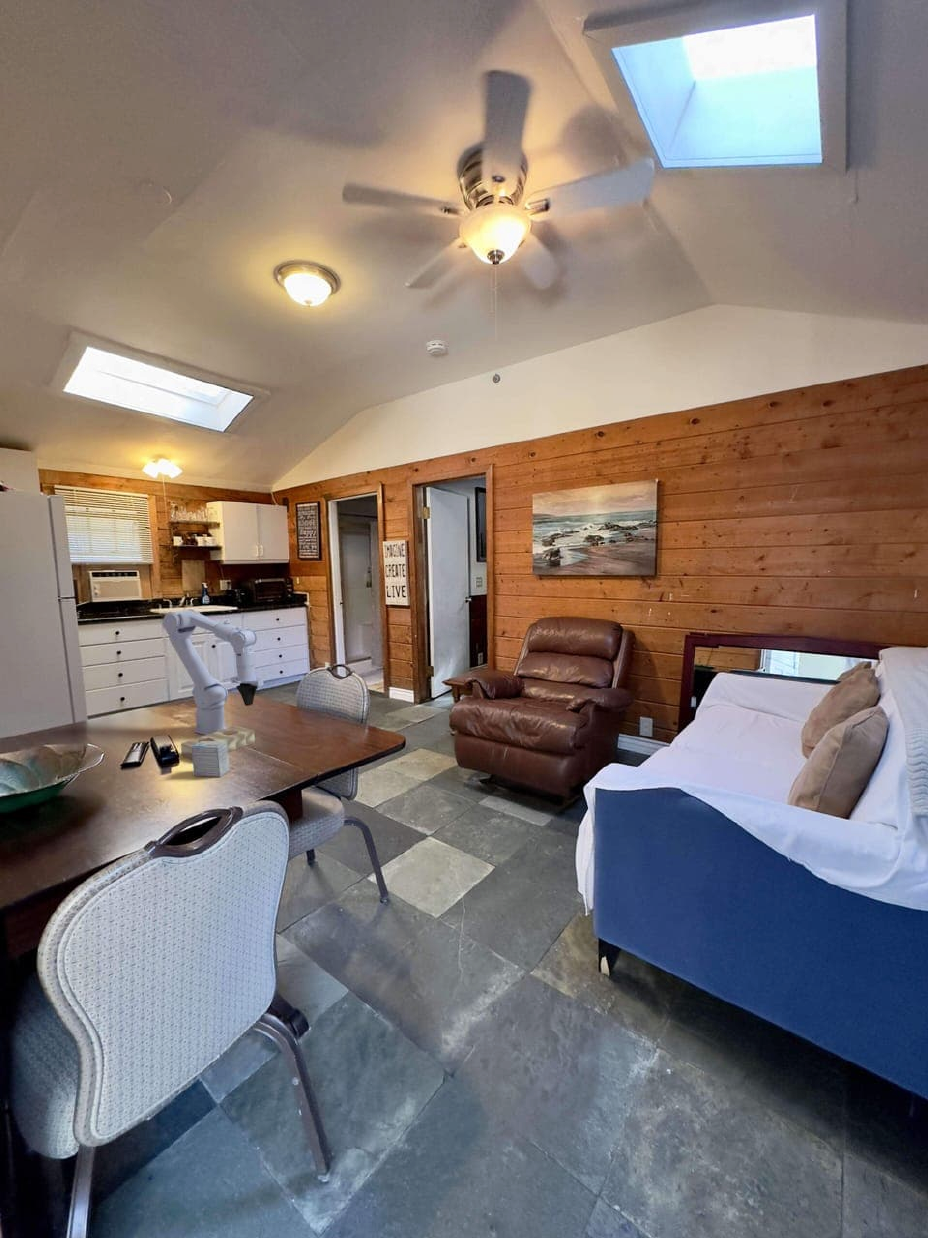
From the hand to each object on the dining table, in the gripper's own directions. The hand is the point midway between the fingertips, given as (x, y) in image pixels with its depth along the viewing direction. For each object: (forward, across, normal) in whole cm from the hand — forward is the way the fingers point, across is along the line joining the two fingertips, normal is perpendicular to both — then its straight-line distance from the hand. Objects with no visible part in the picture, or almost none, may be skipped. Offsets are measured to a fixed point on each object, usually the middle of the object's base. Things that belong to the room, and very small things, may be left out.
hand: (248, 705), depth 162 cm
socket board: (+10, +2, -13) cm, 17 cm away
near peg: (+10, +2, -17) cm, 20 cm away
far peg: (+10, +2, -9) cm, 14 cm away
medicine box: (+11, +18, -25) cm, 32 cm away
